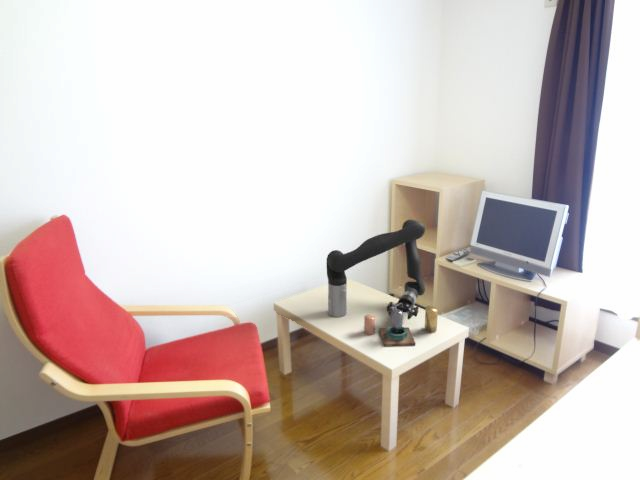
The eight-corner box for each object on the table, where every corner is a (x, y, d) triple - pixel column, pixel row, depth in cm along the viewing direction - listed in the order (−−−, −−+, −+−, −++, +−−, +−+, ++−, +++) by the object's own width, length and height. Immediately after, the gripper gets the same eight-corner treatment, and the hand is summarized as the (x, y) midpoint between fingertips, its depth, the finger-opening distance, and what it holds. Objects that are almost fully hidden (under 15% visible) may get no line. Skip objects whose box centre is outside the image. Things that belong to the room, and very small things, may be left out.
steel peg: (392, 337, 204) (393, 313, 200) (391, 332, 208) (392, 309, 204) (402, 337, 204) (403, 313, 200) (400, 332, 208) (401, 309, 205)
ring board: (384, 346, 199) (384, 338, 198) (379, 330, 213) (379, 323, 212) (415, 345, 200) (415, 338, 199) (408, 329, 213) (408, 322, 212)
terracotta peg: (364, 335, 209) (365, 319, 206) (363, 329, 214) (363, 314, 211) (375, 334, 209) (375, 319, 206) (373, 329, 214) (374, 314, 211)
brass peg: (426, 332, 210) (427, 311, 207) (423, 327, 215) (424, 306, 212) (437, 332, 210) (439, 311, 207) (434, 326, 215) (436, 305, 212)
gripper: (393, 292, 222) (384, 305, 207) (422, 296, 216) (414, 311, 202) (392, 305, 224) (383, 320, 210) (421, 310, 218) (414, 326, 204)
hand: (399, 315), depth 206 cm, fingers open, 8 cm apart
